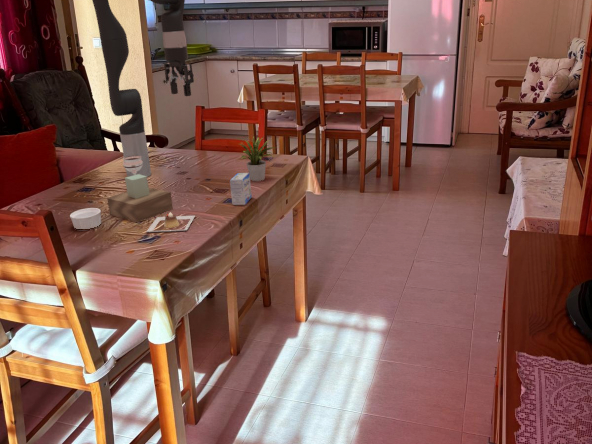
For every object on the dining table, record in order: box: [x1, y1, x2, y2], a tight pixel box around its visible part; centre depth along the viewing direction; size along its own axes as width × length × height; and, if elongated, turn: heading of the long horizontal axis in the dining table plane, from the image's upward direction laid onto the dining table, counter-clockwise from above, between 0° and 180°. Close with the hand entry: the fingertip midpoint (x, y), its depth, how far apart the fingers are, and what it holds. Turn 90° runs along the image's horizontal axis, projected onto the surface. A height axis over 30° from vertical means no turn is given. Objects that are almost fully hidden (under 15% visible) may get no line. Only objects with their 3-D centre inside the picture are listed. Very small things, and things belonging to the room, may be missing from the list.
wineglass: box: [122, 155, 143, 175], centre depth 205 cm, size 7×7×12 cm
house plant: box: [239, 134, 277, 182], centre depth 207 cm, size 14×14×16 cm
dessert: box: [145, 211, 196, 233], centre depth 171 cm, size 12×12×5 cm
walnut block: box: [106, 187, 174, 223], centre depth 183 cm, size 14×14×6 cm
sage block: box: [124, 174, 150, 199], centre depth 181 cm, size 5×5×6 cm
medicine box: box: [229, 172, 253, 206], centre depth 187 cm, size 8×4×9 cm, turn 168°
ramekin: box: [69, 207, 102, 230], centre depth 174 cm, size 9×9×4 cm
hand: (181, 94), depth 197 cm, fingers open, 8 cm apart
